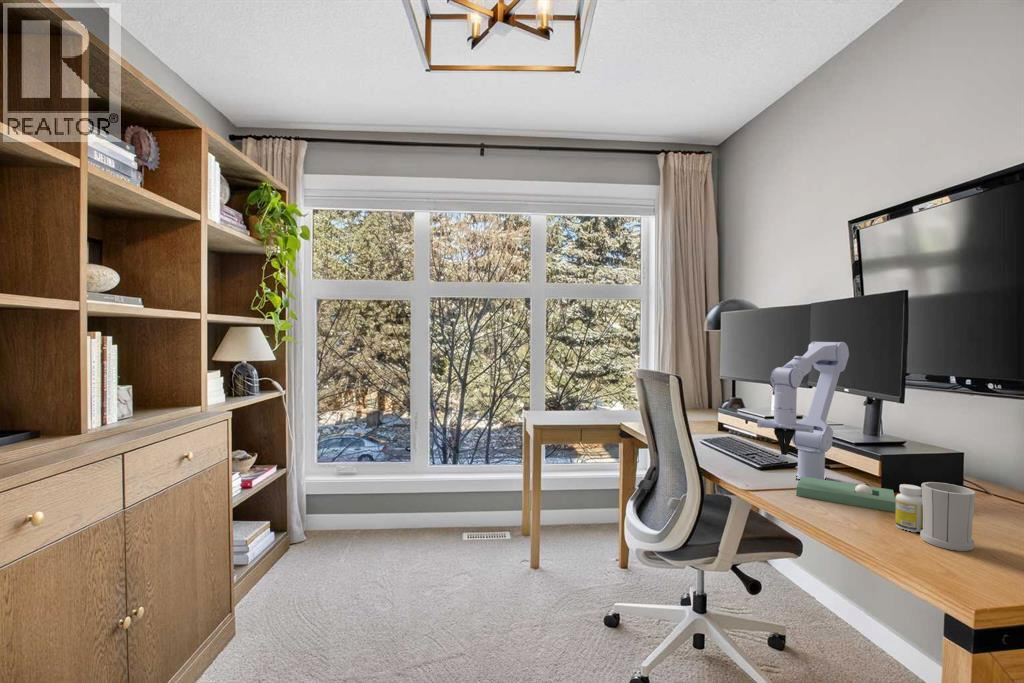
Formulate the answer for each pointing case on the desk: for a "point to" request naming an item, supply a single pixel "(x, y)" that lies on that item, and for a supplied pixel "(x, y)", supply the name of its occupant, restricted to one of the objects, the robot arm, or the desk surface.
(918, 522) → the supplement bottle
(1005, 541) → the desk surface
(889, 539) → the desk surface
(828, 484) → the putting board
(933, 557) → the desk surface
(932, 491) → the cup
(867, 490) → the ball
